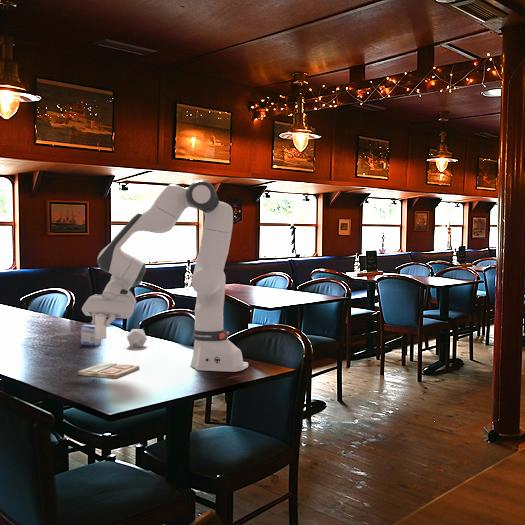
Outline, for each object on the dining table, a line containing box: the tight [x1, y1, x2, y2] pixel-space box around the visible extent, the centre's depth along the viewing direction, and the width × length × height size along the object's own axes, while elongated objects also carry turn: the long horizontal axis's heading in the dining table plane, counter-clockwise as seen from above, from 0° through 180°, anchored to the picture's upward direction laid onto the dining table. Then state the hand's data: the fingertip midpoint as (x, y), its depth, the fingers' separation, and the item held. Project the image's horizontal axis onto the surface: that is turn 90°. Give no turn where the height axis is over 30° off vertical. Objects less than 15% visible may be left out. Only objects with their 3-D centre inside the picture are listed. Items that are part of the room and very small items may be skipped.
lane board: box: [77, 362, 140, 380], centre depth 233 cm, size 16×16×2 cm
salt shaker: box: [95, 314, 107, 340], centre depth 233 cm, size 4×4×9 cm
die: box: [126, 328, 148, 348], centre depth 282 cm, size 8×9×10 cm
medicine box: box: [80, 324, 102, 346], centre depth 286 cm, size 8×4×9 cm, turn 68°
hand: (99, 324), depth 232 cm, fingers closed on salt shaker, 4 cm apart
